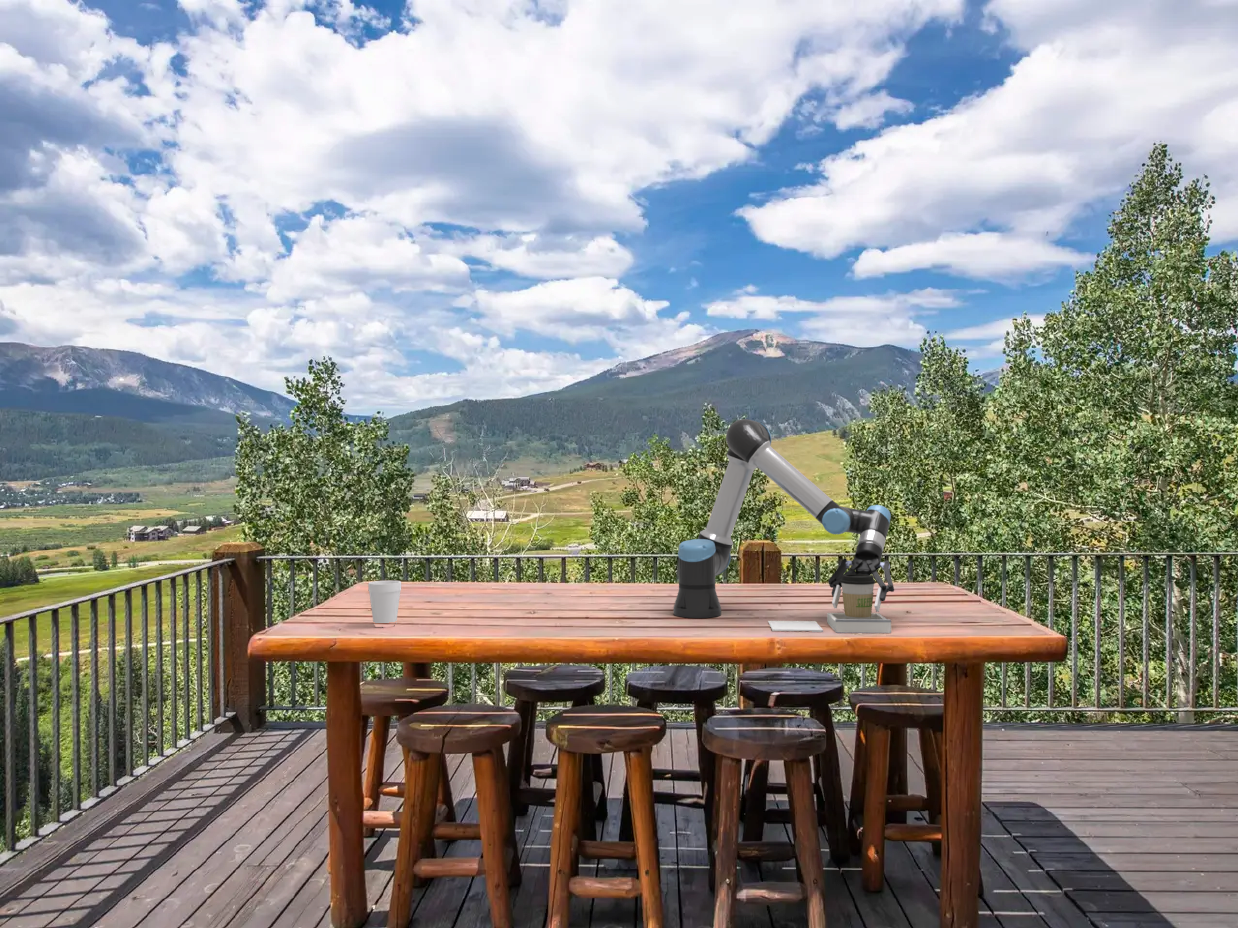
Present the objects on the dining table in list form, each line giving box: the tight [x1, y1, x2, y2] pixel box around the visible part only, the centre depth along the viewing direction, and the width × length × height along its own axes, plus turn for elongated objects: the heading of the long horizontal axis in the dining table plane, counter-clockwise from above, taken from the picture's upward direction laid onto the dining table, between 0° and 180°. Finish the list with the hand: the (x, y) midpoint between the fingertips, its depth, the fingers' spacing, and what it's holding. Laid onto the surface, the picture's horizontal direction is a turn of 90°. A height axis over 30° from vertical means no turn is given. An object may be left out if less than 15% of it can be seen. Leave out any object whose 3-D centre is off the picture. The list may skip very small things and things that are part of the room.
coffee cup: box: [840, 573, 876, 619], centre depth 233 cm, size 10×10×15 cm
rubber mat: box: [767, 620, 824, 633], centre depth 235 cm, size 14×14×1 cm
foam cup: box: [367, 579, 402, 623], centre depth 242 cm, size 10×9×13 cm
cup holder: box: [826, 612, 892, 634], centre depth 233 cm, size 15×15×4 cm
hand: (855, 607), depth 231 cm, fingers open, 11 cm apart
